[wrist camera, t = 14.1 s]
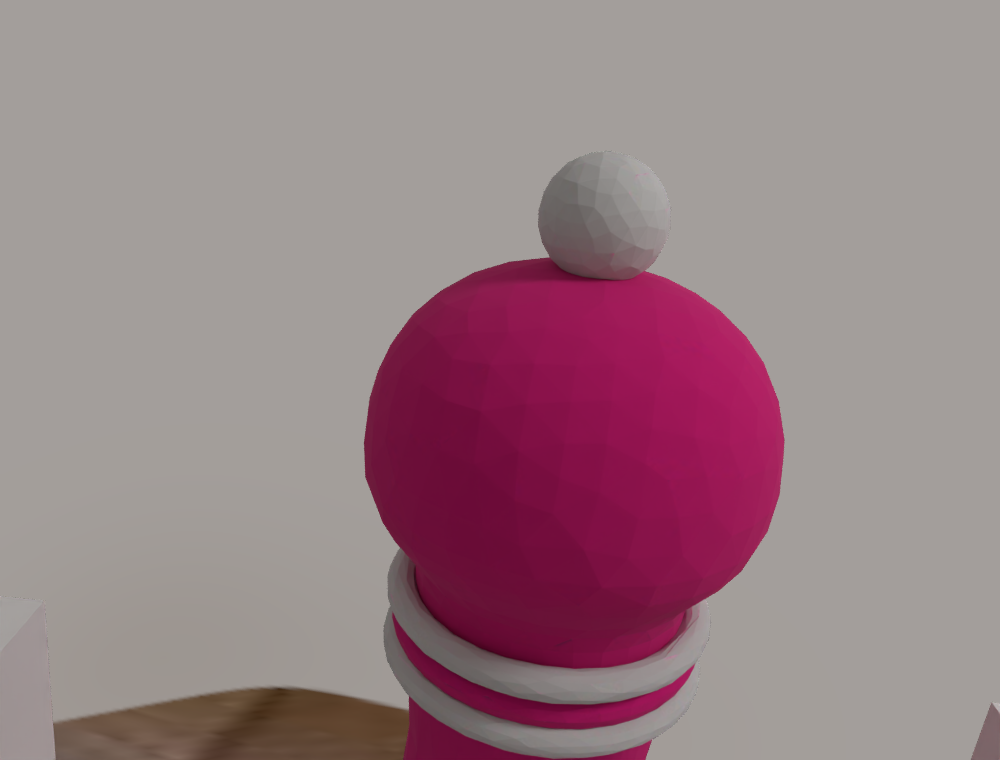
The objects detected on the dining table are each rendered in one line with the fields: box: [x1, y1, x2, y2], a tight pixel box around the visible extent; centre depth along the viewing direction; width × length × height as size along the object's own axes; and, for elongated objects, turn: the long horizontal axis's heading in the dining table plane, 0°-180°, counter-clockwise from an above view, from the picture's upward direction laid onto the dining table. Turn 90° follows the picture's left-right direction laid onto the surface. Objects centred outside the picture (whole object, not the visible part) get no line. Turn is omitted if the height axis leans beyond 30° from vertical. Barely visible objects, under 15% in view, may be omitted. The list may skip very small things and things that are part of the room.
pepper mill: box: [364, 151, 784, 760], centre depth 15 cm, size 7×7×20 cm
